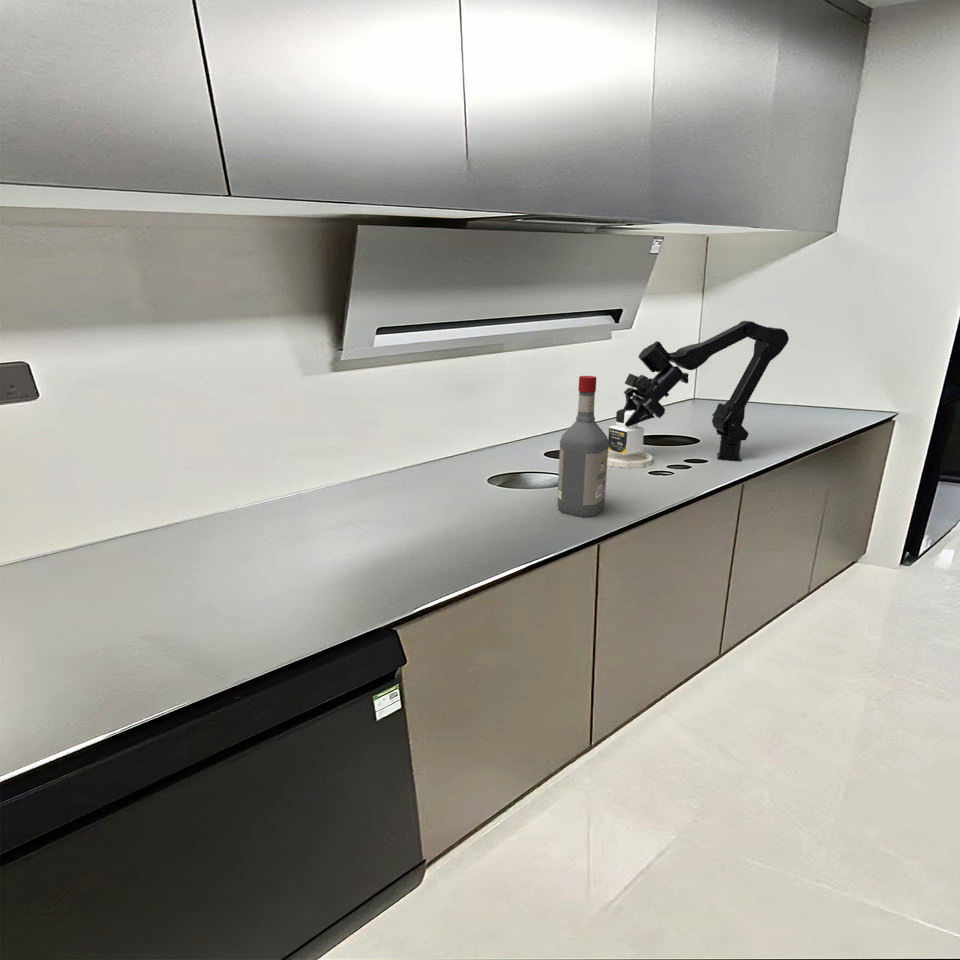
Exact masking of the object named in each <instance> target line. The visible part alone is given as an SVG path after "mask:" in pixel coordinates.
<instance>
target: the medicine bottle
mask: <svg viewBox="0 0 960 960" xmlns="http://www.w3.org/2000/svg"><path fill="white" fill-rule="evenodd" d="M634 412H635V410H632V409H624V408H622V409H618V410H617V411H616V416H615V425H611V426H608V436H607V438H608V441H609V444H608V450H609V451H612V452H616V453H619V454H623V455H629V454H634V453H639V452H643V450H644V449H643V448H644V432H645V428H644V427H642V426H638V425H639V424H638V423H637V424H634V425H632V426H629V427H626V425H625V423H626V422H627V420H628V419H629V418H630V417H631V415H632V414H633V413H634Z"/></svg>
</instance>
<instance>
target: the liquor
mask: <svg viewBox="0 0 960 960" xmlns="http://www.w3.org/2000/svg"><path fill="white" fill-rule="evenodd" d="M596 390H597V376H593V375H581V376H579V377H578V405H577V416H576V418H575V421H574V423H572V425H570V427H569V428H568V429H567V430H566V431H565V432H564V433H563V434H562V436H561V438H560V439H559V455H558V456H559V458H558V483H557V507H558V509H559V510H560V511H561V512H562V513H563V514H567V515H571V516H576V517H580V518H589V517H591V518H592V517H594V516H596V515H598V514H599V513H600V512H602V511H603V510H604V509H605V504H606V503H605V501H606V489H607V488H606V486H607V470H608V466H607V459H608V444H609V441H608V436H607V435H606V433H605V432H604V431H603V430H602V428H601V427H600V426H599V425H598V424H597V422H596V418H595V417H596V416H595V399H596V398H595V395H596V394H595V393H596Z"/></svg>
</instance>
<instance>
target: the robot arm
mask: <svg viewBox="0 0 960 960" xmlns="http://www.w3.org/2000/svg"><path fill="white" fill-rule="evenodd" d="M747 338H748V339H751V340H754V345H753V355H752V357H751V359H750V361H749V363H748V364H747V367H746V369H745V370H744V372H743V374H742V376H741V378H740V379H739V381H738V383H737V385H736V387H735V388H734V390H733V393H732V394H731V396H730V398H729V400H728V401H726V402H725V403H724V404H723V403H721V402H719V403H718V404H717V407H716V409H715V411H714V412H713V413H712V414H711V415H712V420H711V423H712V426H713V428H714V429H715V430H716V434H717V435H718V436H720V443H719V452H717V453H716V456H717V458H716V459H717V460H728V461H736V462H737V461H738V462H739V461H742V456H741V454H740V453H741V447H742V441H747V439H748V436H749V432H748V431H747V430H746V428H744V426H743V422H744V420H745V411H746V406H747V404H748V403H749V401H750V399H751V397H752V395H753V394H754V391H755V390H756V388H757V386H758V385H759V382H760V380H761V379H762V377H763V375H764V373H765V371H766V369H767V368H768V366H769V364H770V363H771V362H772V361H773V360H774V359H775V358H776V357H777V356H779V355H780V354H781V353H782V351H783V350H784V348H786V346H787V344H788V343H789V341H790V340H789V339H790V336H789V335H788V332H787V331H786V330H785V329H783V328H779V327H778V328H777V327H771V326H764V325H761V324H759V323H756V322H754V321H751V320H743V321H740V322H739V323H737V324H736V325H733V326H732V327H730V328H728V329H726V330H723V331H722V332H720V333H717V334H716V335H714V336H712V337H710V338H708V339H706V340H703V341H701V342H698V343H692V344H689V345H685V346H683V347H680V348H678V349H677V350H676V351H674V352H668V351H667V350H666V349H665V348H664V346H663V345H662V343H661V342H660V341H657V340H656V341H655V342H653V343H652V344H650V345H647V347H645V348H643V350H641V352H640V353H639V355H638V359H639V360H640V361H641V362H642V363H643V364H644V365H645V366H646V368H647V369H648V370H649V371H650V372H651V373H655V372H656V373H657V374H656V375H655V376H654V377H652V378H651V377H649V376H645V375H643V374H640V375H639V376H638V375H636V374H635V375H634V374H632V373H629V374H628V376H627V378H626V379H625V382H624V384H625V385H627V386H629V387H628V388H626V389H625V390H624V391H623V394H624V395H625V405H624V406H623V409H632V410H635V412H634V413H633V414H632V415H631V417H630V418H629V419H628V420H627V422H626V423H625V425H626V427H629V426H632V425H634V424H637V423H642V422H645V421H648V420H651V419H654V418H655V417H656V418H659V419H661V418H662V417H663V416H664V415H665V412H666V408H665V407H664V406H663V405H662V404H661V403H660V401H661V400H662V399H663V398H664V397H666V398H668V396H670V394H669V392H670V391H671V390H672V389H673V388H674V387H675V386H676V385H677V384H679V382H681V383H685V384H689V375H690V374H689V373H688V372H684V371H682V369H683V370H684V369H685V370H688V371H694V370H696V369H698V368H699V367H700V366H702V365H703V364H705V363H706V362H707V361H708V359H710V358H711V357H712V356H713V355H715V354H716V353H719V352H721V351H723V350H724V349H726V348H729V347H731V346H732V345H734V344H736V343H738V342H741V341H743V340H744V339H747ZM672 363H673V364H675V366H674V365H673V364H672ZM680 368H681V369H680Z"/></svg>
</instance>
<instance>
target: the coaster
mask: <svg viewBox="0 0 960 960" xmlns="http://www.w3.org/2000/svg"><path fill="white" fill-rule="evenodd" d="M653 458H654V457H653V455H651V454H649V453H648V452H645V451H642V452H639V453H634V454H629V455H623V454H619V453H616V452H612V451H609V450H608V459H607V465H610V466H620V467H642V466H646V465H650V464H651V465H652V464H653V460H654V459H653ZM651 465H650V466H651ZM610 466H609V467H610ZM646 467H647V466H646Z"/></svg>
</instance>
